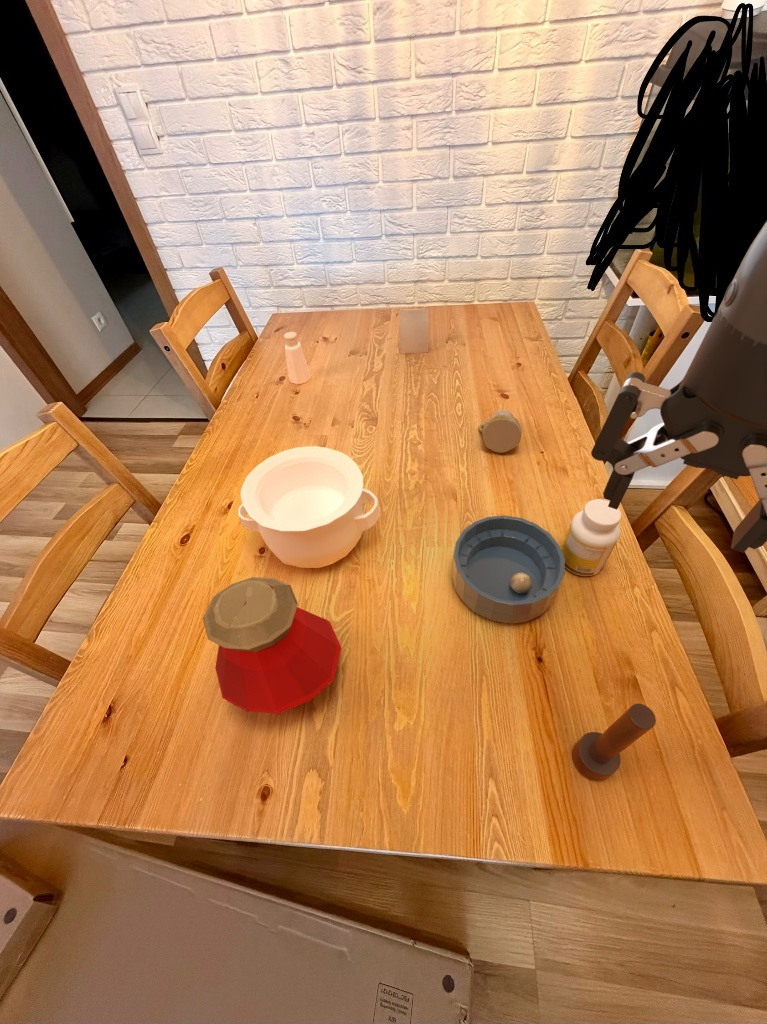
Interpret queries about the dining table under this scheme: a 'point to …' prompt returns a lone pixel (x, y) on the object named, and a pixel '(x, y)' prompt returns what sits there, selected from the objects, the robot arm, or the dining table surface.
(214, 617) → the red jar
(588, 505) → the pill bottle
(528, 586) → the bead
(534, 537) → the bowl
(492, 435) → the mug
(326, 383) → the dining table surface
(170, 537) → the dining table surface
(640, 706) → the masher
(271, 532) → the pot
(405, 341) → the grey rectangular block
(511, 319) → the dining table surface
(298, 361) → the salt shaker
